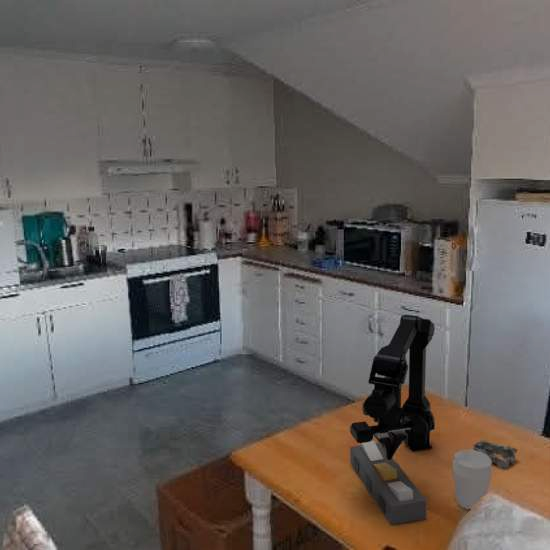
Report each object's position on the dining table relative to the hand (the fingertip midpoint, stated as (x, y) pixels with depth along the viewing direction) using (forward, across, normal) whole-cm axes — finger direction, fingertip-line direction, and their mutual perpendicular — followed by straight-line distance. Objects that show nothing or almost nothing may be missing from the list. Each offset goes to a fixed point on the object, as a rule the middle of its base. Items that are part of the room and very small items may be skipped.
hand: (388, 459), depth 142 cm
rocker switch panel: (+10, 0, -2) cm, 10 cm away
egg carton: (+10, -35, -8) cm, 38 cm away
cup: (+10, -18, +9) cm, 22 cm away
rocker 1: (+6, 0, -12) cm, 13 cm away
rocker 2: (+6, 0, -2) cm, 6 cm away
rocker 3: (+6, 0, +7) cm, 9 cm away
